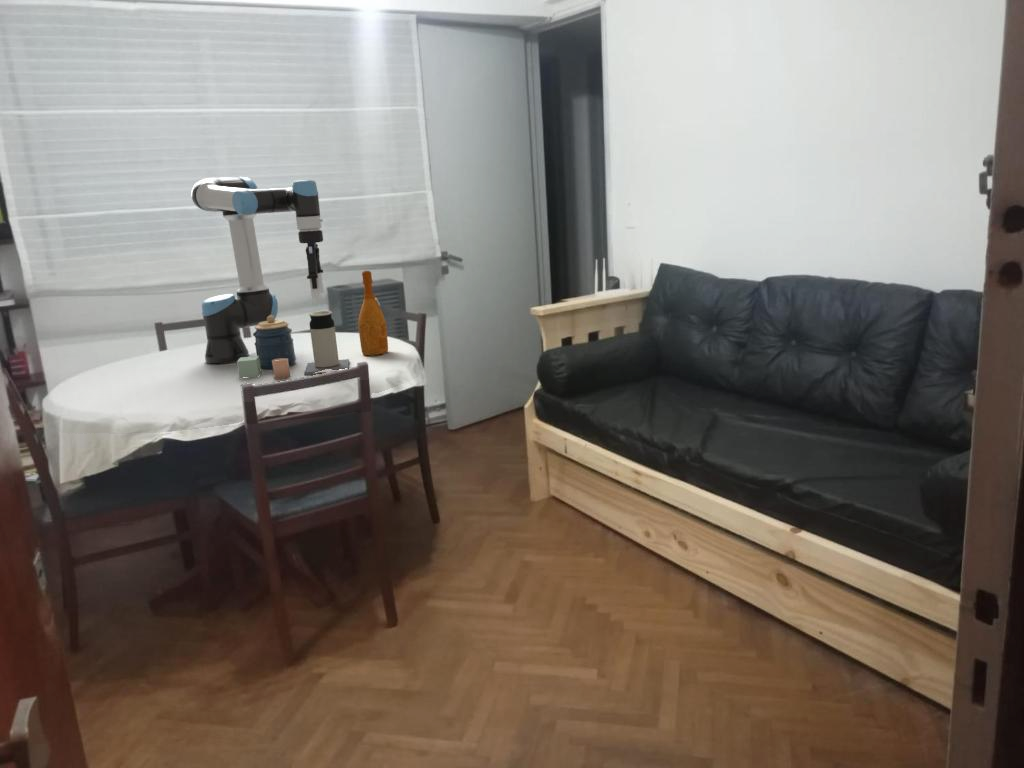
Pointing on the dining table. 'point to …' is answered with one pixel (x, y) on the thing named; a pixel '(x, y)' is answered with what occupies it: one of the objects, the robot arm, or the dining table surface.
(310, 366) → the mat
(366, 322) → the wine bottle
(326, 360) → the travel mug
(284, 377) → the salmon block
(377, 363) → the dining table surface
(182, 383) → the dining table surface
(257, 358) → the sage block
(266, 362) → the canister
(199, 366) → the dining table surface
